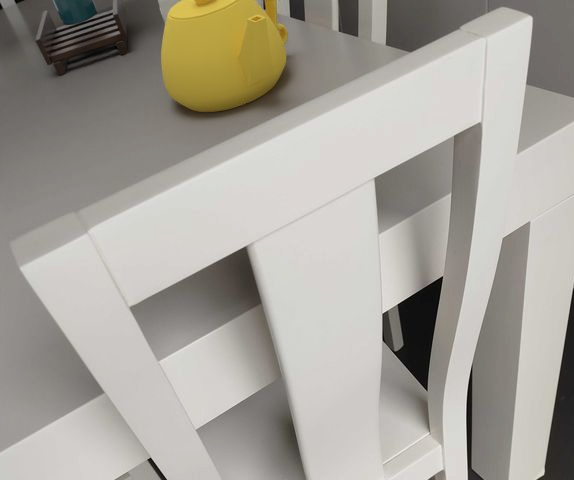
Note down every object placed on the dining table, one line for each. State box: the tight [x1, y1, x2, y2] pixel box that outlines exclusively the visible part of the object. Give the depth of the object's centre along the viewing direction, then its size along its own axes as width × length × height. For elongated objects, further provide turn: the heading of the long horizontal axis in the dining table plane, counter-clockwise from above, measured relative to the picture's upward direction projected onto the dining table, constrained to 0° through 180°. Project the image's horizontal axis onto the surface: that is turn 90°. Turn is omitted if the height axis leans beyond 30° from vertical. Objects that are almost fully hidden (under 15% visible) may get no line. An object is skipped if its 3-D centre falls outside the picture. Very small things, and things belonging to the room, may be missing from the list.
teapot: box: [160, 0, 289, 113], centre depth 75 cm, size 20×19×13 cm
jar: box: [157, 0, 182, 24], centre depth 90 cm, size 9×8×12 cm
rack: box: [35, 0, 129, 76], centre depth 103 cm, size 14×17×6 cm
